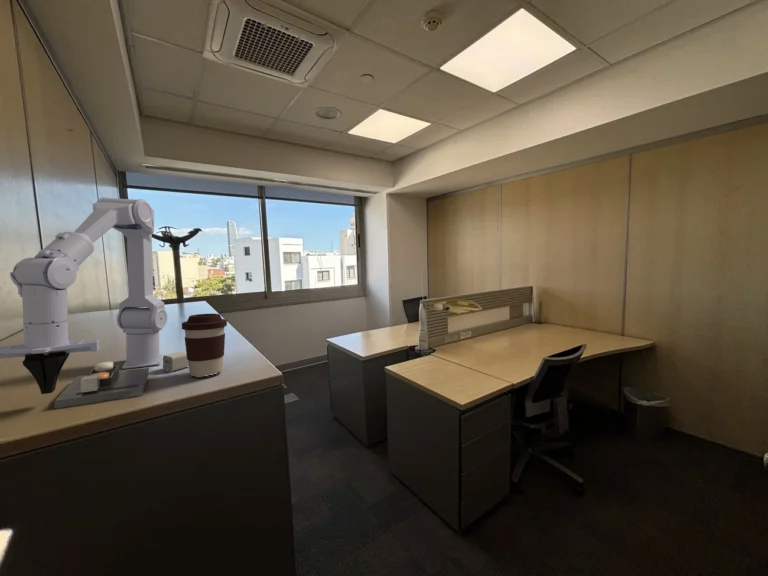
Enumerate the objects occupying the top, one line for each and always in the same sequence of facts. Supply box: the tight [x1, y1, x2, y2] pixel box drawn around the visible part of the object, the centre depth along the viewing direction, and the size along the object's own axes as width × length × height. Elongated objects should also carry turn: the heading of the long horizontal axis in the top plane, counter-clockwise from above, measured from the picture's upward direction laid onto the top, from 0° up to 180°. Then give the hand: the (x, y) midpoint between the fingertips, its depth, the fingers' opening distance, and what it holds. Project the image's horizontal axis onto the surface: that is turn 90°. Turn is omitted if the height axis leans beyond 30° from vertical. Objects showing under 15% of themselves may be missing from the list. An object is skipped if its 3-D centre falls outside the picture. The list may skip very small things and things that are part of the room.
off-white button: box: [94, 361, 114, 372], centre depth 71 cm, size 3×3×2 cm
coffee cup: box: [181, 313, 228, 377], centre depth 79 cm, size 10×10×15 cm
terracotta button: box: [90, 372, 109, 379], centre depth 67 cm, size 3×3×2 cm
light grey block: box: [81, 375, 99, 393], centre depth 62 cm, size 2×2×3 cm
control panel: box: [54, 365, 150, 410], centre depth 68 cm, size 15×13×3 cm
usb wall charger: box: [162, 351, 189, 372], centre depth 83 cm, size 4×7×4 cm, turn 156°
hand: (48, 391), depth 59 cm, fingers closed
